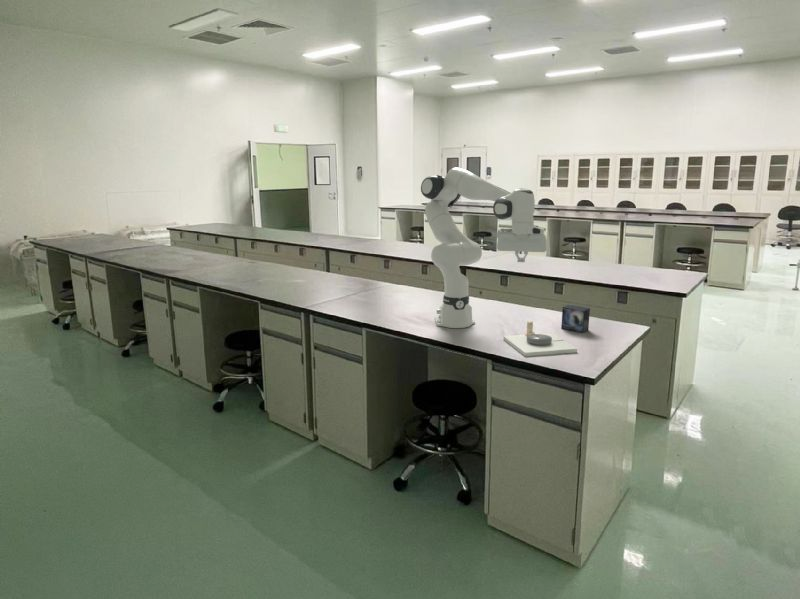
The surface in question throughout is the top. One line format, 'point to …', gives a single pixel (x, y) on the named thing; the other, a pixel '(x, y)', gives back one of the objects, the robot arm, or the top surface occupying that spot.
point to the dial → (536, 336)
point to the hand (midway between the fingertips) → (521, 262)
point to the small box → (575, 318)
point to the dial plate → (532, 350)
